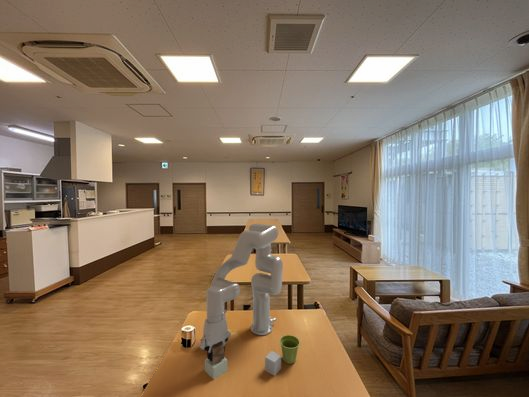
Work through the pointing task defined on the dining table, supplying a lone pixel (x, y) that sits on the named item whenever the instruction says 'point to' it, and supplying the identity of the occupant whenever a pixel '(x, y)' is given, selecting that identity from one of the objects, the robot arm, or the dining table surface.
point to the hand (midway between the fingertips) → (216, 356)
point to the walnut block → (217, 352)
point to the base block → (216, 367)
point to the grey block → (273, 363)
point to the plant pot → (289, 348)
